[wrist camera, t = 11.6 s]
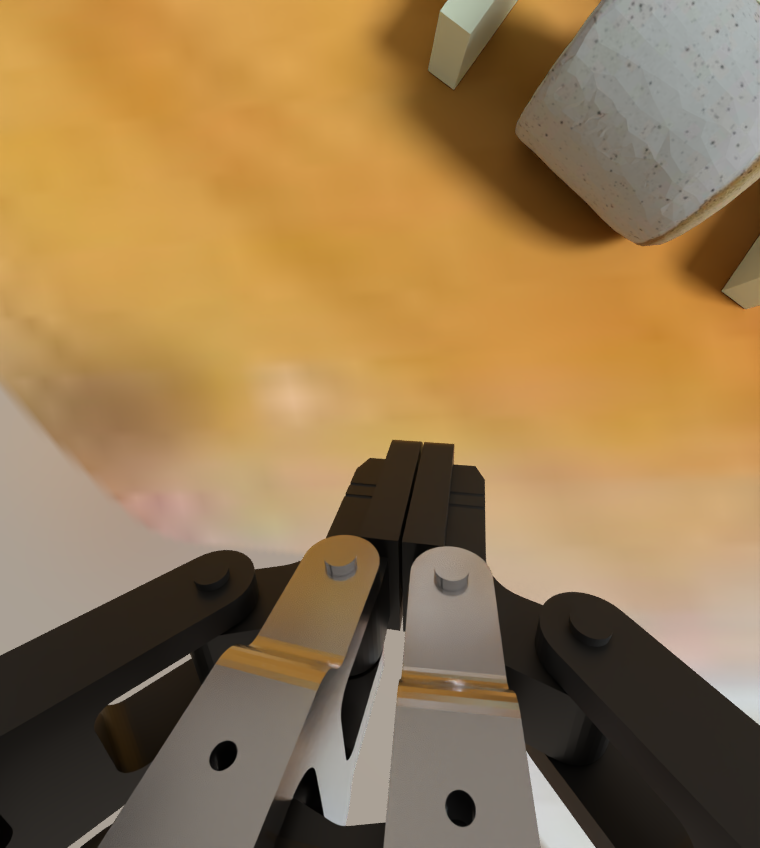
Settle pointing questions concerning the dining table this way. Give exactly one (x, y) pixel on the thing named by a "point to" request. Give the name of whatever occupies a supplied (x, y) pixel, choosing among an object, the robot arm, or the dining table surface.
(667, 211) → the ceramic mug
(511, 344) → the dining table surface
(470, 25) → the u-shaped bracket
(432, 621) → the robot arm
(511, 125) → the dining table surface
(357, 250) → the dining table surface
